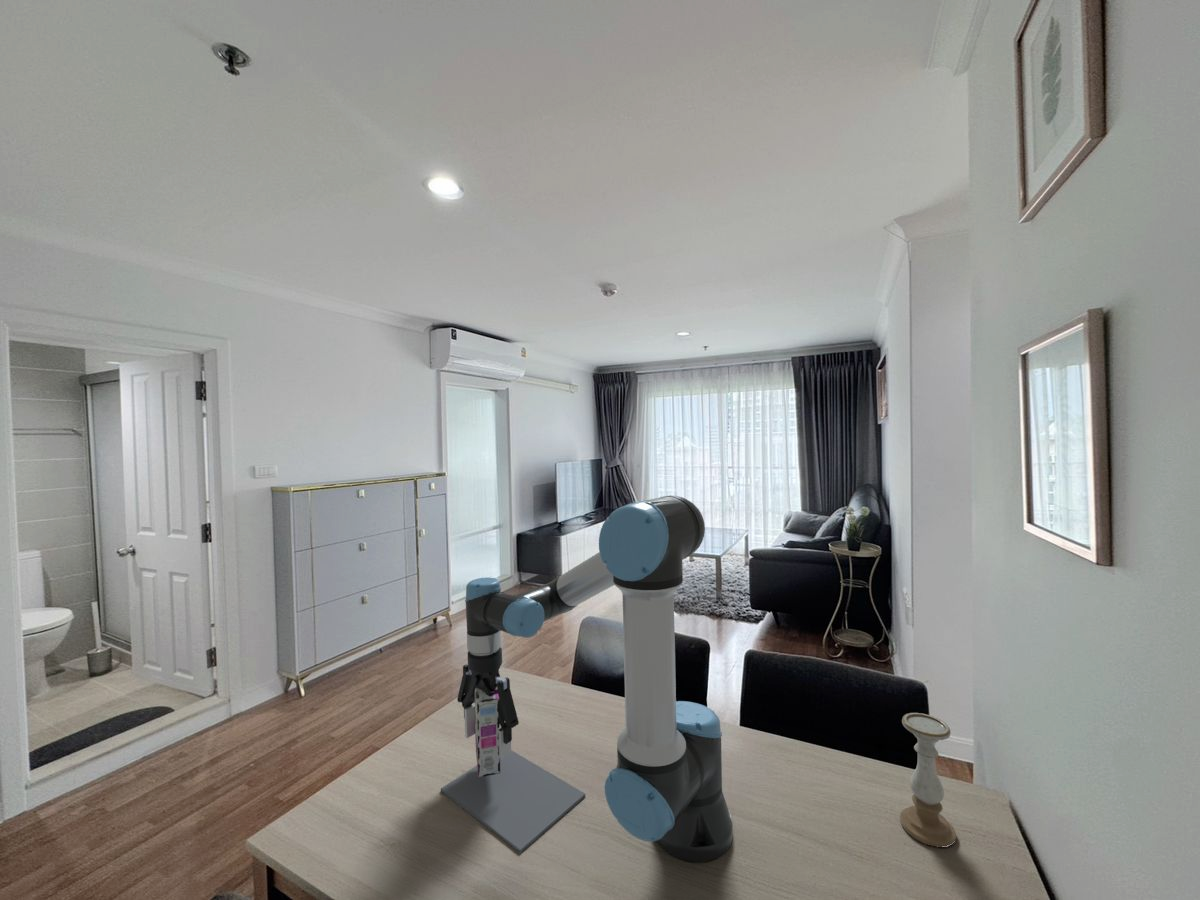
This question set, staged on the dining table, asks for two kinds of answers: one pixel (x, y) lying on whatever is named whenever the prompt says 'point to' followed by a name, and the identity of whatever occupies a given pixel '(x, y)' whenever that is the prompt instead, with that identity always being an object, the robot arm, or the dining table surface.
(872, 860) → the dining table surface
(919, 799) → the candle holder
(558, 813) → the mat
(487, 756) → the candy bar box
